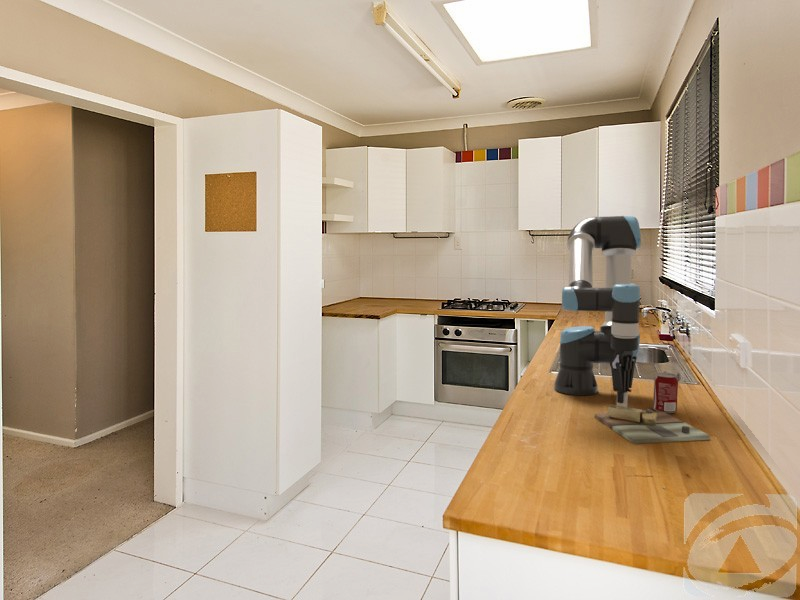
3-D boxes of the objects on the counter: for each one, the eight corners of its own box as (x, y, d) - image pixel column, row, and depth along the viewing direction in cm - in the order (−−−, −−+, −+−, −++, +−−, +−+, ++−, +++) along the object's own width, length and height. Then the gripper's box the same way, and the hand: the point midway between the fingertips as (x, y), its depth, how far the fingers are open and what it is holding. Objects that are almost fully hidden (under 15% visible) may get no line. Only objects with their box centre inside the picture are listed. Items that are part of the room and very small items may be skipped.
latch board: (594, 417, 164) (594, 409, 164) (661, 414, 166) (661, 406, 166) (633, 443, 142) (633, 433, 142) (709, 439, 145) (710, 430, 144)
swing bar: (657, 422, 155) (658, 409, 154) (654, 425, 151) (654, 412, 151) (611, 413, 163) (612, 401, 162) (607, 416, 160) (607, 404, 159)
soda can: (679, 415, 166) (681, 377, 165) (656, 414, 167) (657, 376, 166) (673, 408, 172) (674, 372, 171) (650, 407, 174) (652, 371, 173)
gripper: (622, 331, 165) (619, 405, 168) (602, 337, 157) (599, 414, 160) (646, 334, 160) (643, 410, 163) (627, 340, 151) (624, 420, 154)
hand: (621, 412), depth 161 cm, fingers closed
